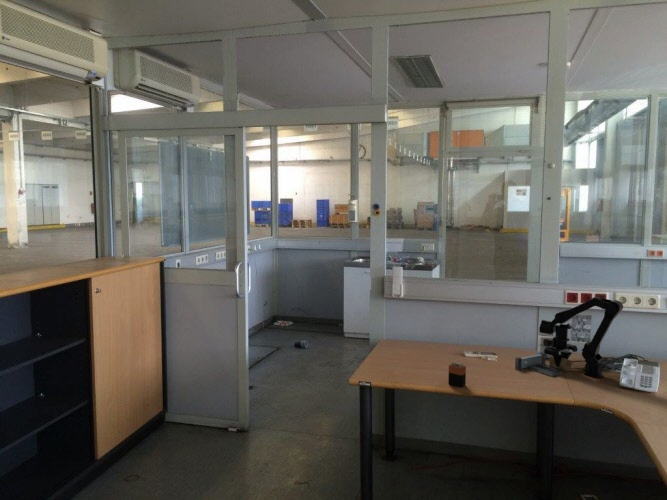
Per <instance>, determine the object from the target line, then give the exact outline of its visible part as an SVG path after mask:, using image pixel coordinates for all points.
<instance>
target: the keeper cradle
mask: <svg viewBox="0 0 667 500" xmlns="http://www.w3.org/2000/svg"><path fill="white" fill-rule="evenodd" d="M527 369H529V370H530V371H534V372H537V373H540V374H542V375H546V376H548V377H552V378H554V377H558V376H562V375H564V371H563V370H560V369H557V368H554V367H551V366H548V365H546V364H545V365H542V364H539V363H538V364H533V365H528V367H527Z"/></svg>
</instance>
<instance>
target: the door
mask: <svg viewBox="0 0 667 500" xmlns="http://www.w3.org/2000/svg"><path fill="white" fill-rule="evenodd" d="M520 358H521V370H522V369H528V365H533V364H538V363H539V364H542V355H541V354H539V355H537V354H535V355H529V356H524V357H520Z"/></svg>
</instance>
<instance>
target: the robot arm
mask: <svg viewBox="0 0 667 500" xmlns="http://www.w3.org/2000/svg"><path fill="white" fill-rule="evenodd" d="M593 307H597V308H600V309H602V310H604V315H603V318H602V319H601V322H600V324H599V325H598V328H597V329H596V331H595V334H594V335H593V337H592V339H591V340H590V341H587V342H585V343H584V345H583V348H582V349H581V355H582V358H583V359H584V362H585V365H584V372H583V375H586V376H589V377H592V378H594V379H597V378H600V377H603V376H604V374H602V371H603V364H602V362H603V360H604V357H602V355H601V354H600V353H599V352H600V348H601V343H602V342H603V340H604V338H605V336H606V334H607V332H608V331H609V329H610V327H611V325H612V323H613V321H614V320H615V318H616V317H618V315H620V313H621V312H622V311H623V309H624V304H623V303H622V302H621V300H619V299H618V300H616V299H614V300H612V299H607V298H602V297H599V296H594V297H592V298H591V299H589V300H587V301H584V302H583V303H580V304H579V305H576V306H574V307H573V308H570V309H565V310H561V311H559V312H557V313H555V314H554V318H553V319H552V321H550V320H545V319H542V320H541V322H540V324H539V329H538V332H539V331H540V333H545V334H551V335H552V334H553V333H554V336H555V337H553V340H548V339H544V340H543V344H544V346H546V347H548V348H545V349H544V353H545V354H549V355H552V356H553V358H554V360H555V363H556V366H557V367H559V365H560V362H561V359H562V358H564V359H568V360H569V358H570V357H571V355H573V353H575V352H576V353H577V352H578V347H577V345H574V344H571V343H568V342H569V341H570V338H568V334H569V333H568V331H569V330H571V329H573V326H572V325H571V324H570V323H567V322H569V321H570V320H572V319H573V318H574V317H575V316H577V315H579V314H580V313H583V312H585V311H587V310H589V309H591V308H593ZM565 323H567V324H565ZM549 346H552V347H553V348H552V347H549ZM571 351H572V352H571Z"/></svg>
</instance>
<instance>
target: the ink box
mask: <svg viewBox="0 0 667 500" xmlns="http://www.w3.org/2000/svg"><path fill="white" fill-rule="evenodd" d="M553 337H555V333H553V334H552V335H551V334H545V333H540V331H539V330H538V334H537V351H536V352H537V354H536V355H539V354H540V353H542V352H543V353H544V349H545V348H548V347H546V346H544V344H543V340H544V339H548V340H553ZM549 347H552V346H549ZM552 348H553V347H552ZM550 356H552V355H549V354H546V359H550Z"/></svg>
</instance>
